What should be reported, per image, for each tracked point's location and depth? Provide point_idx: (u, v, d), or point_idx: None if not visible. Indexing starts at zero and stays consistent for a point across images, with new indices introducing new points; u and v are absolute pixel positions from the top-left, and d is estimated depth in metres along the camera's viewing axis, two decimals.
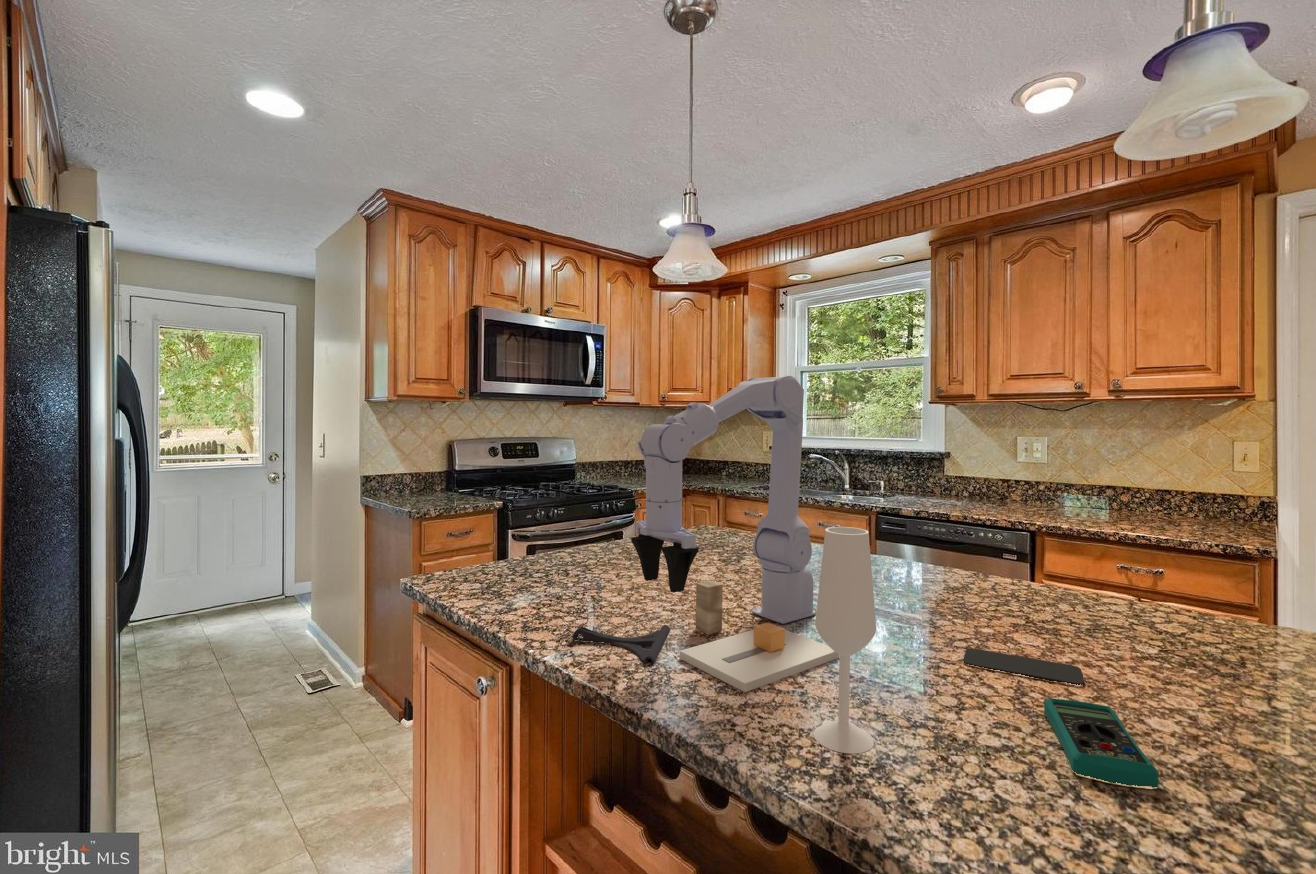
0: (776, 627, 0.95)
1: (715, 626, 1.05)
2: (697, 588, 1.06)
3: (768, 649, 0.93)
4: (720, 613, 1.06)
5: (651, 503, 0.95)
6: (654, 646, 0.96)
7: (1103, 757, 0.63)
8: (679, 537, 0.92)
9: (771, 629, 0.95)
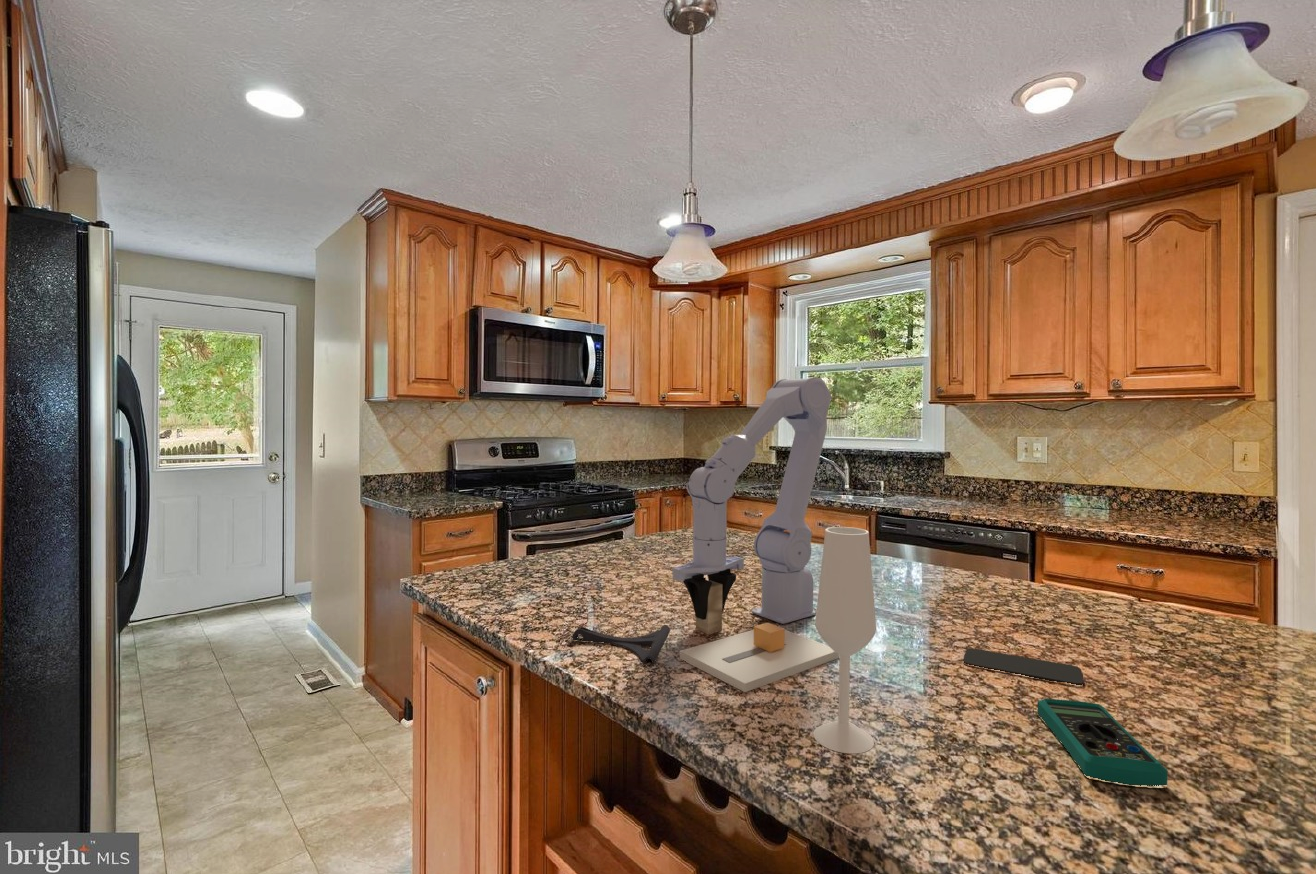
0: (776, 627, 0.95)
1: (715, 626, 1.05)
2: None
3: (768, 649, 0.93)
4: (720, 613, 1.06)
5: None
6: (654, 646, 0.96)
7: (1114, 758, 0.63)
8: None
9: (771, 629, 0.95)
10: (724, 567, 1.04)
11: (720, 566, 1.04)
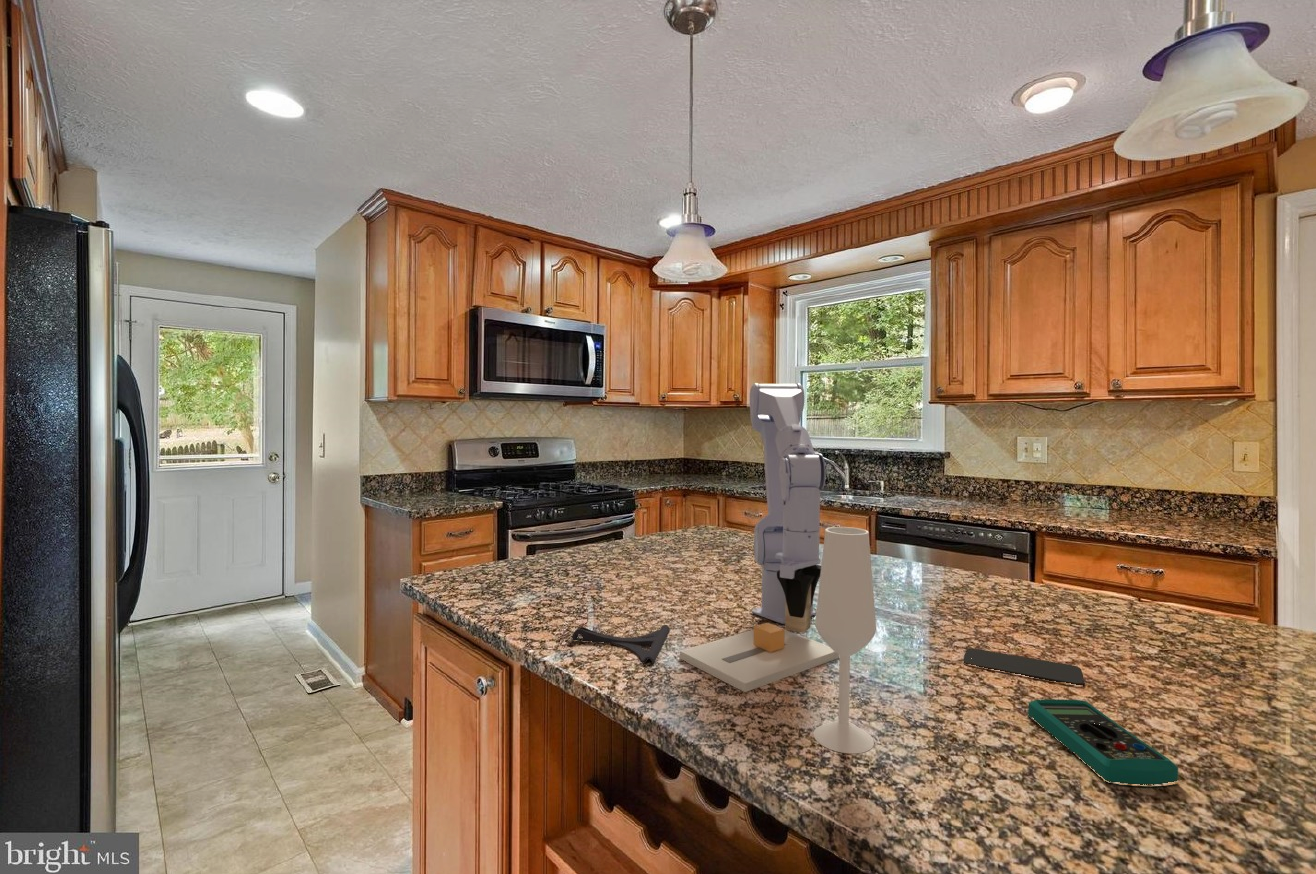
0: (776, 627, 0.95)
1: (808, 623, 0.99)
2: None
3: (768, 649, 0.93)
4: (810, 609, 1.00)
5: (783, 529, 1.00)
6: (653, 646, 0.96)
7: (1131, 760, 0.62)
8: None
9: (771, 629, 0.95)
10: None
11: (818, 558, 0.97)
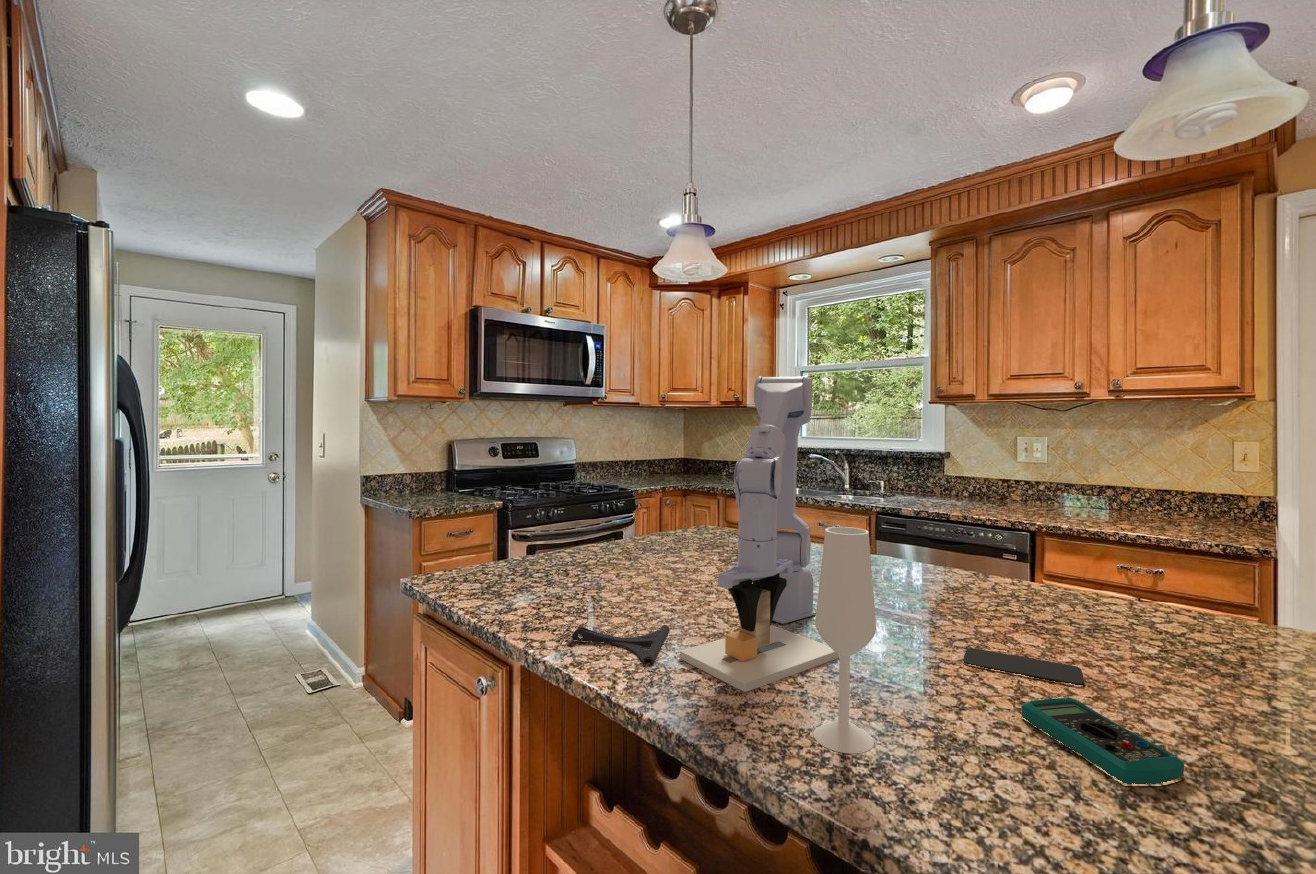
0: (748, 635, 0.92)
1: (763, 638, 0.93)
2: None
3: (739, 658, 0.90)
4: (768, 624, 0.93)
5: None
6: (653, 646, 0.96)
7: (1145, 760, 0.62)
8: None
9: (743, 637, 0.91)
10: (775, 571, 0.91)
11: (771, 570, 0.91)
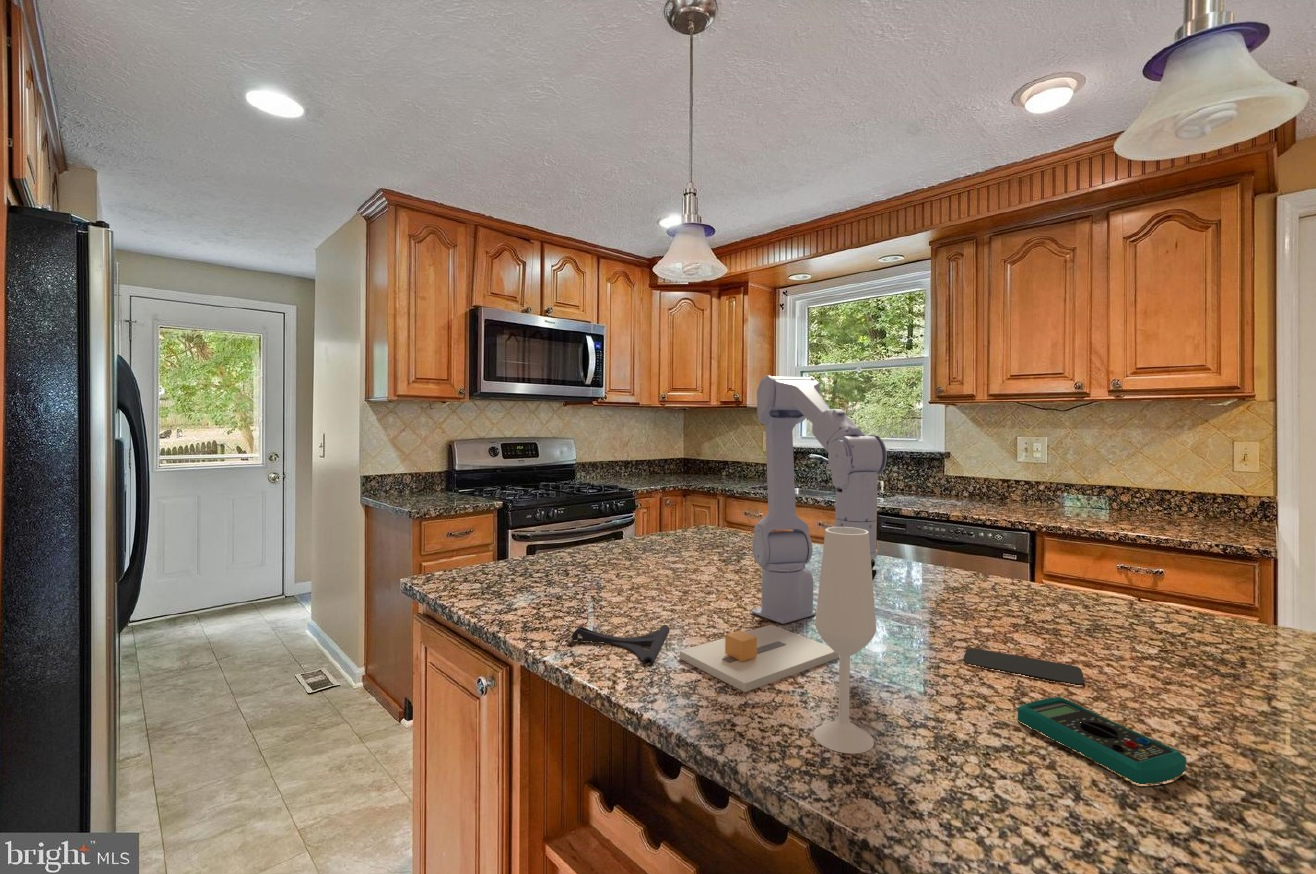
0: (748, 635, 0.92)
1: None
2: None
3: (739, 658, 0.90)
4: None
5: (836, 520, 0.89)
6: (653, 646, 0.96)
7: (1155, 759, 0.63)
8: None
9: (743, 637, 0.91)
10: None
11: (876, 550, 0.88)
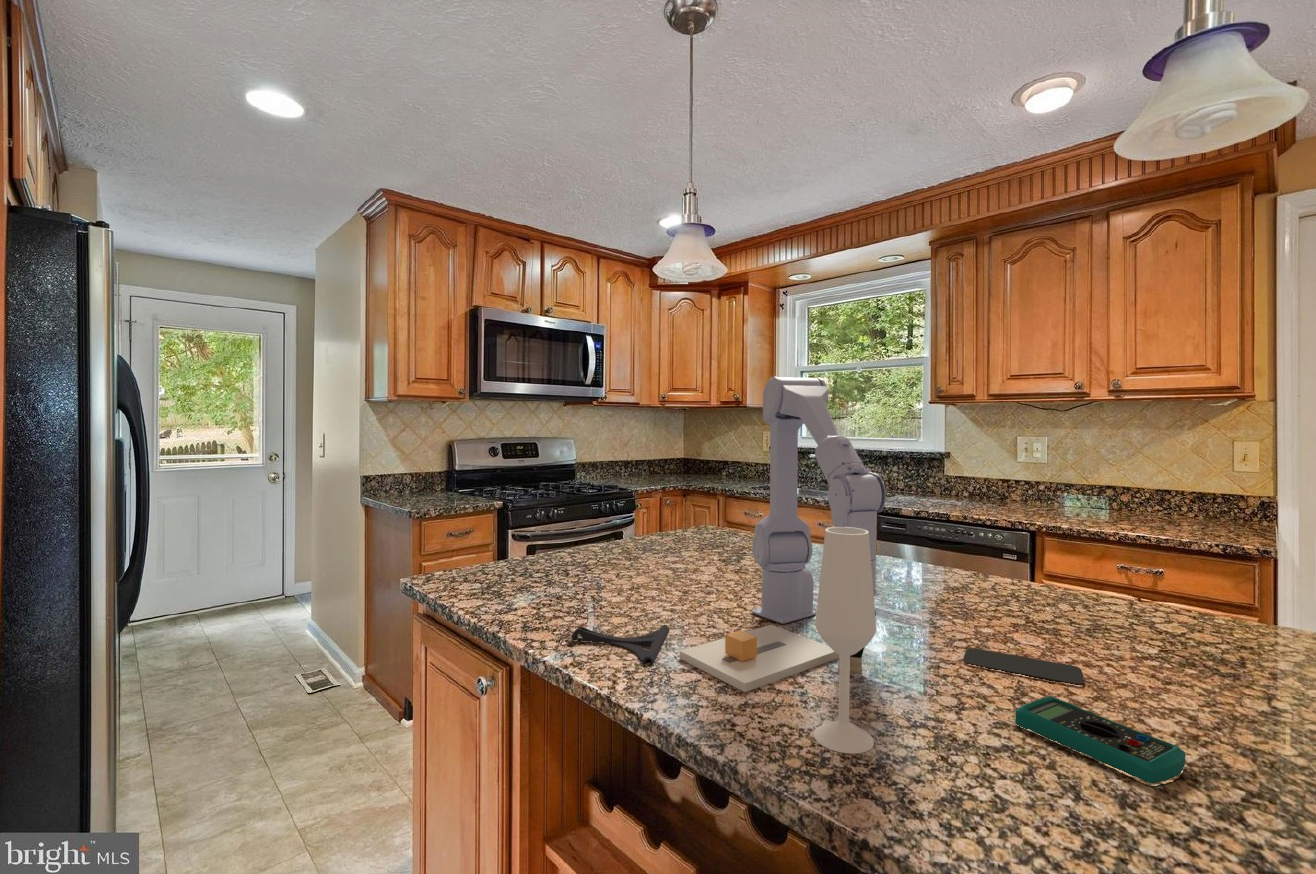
0: (748, 635, 0.92)
1: None
2: None
3: (739, 658, 0.90)
4: None
5: None
6: (653, 646, 0.96)
7: (1162, 757, 0.63)
8: None
9: (743, 637, 0.91)
10: None
11: (876, 589, 0.89)
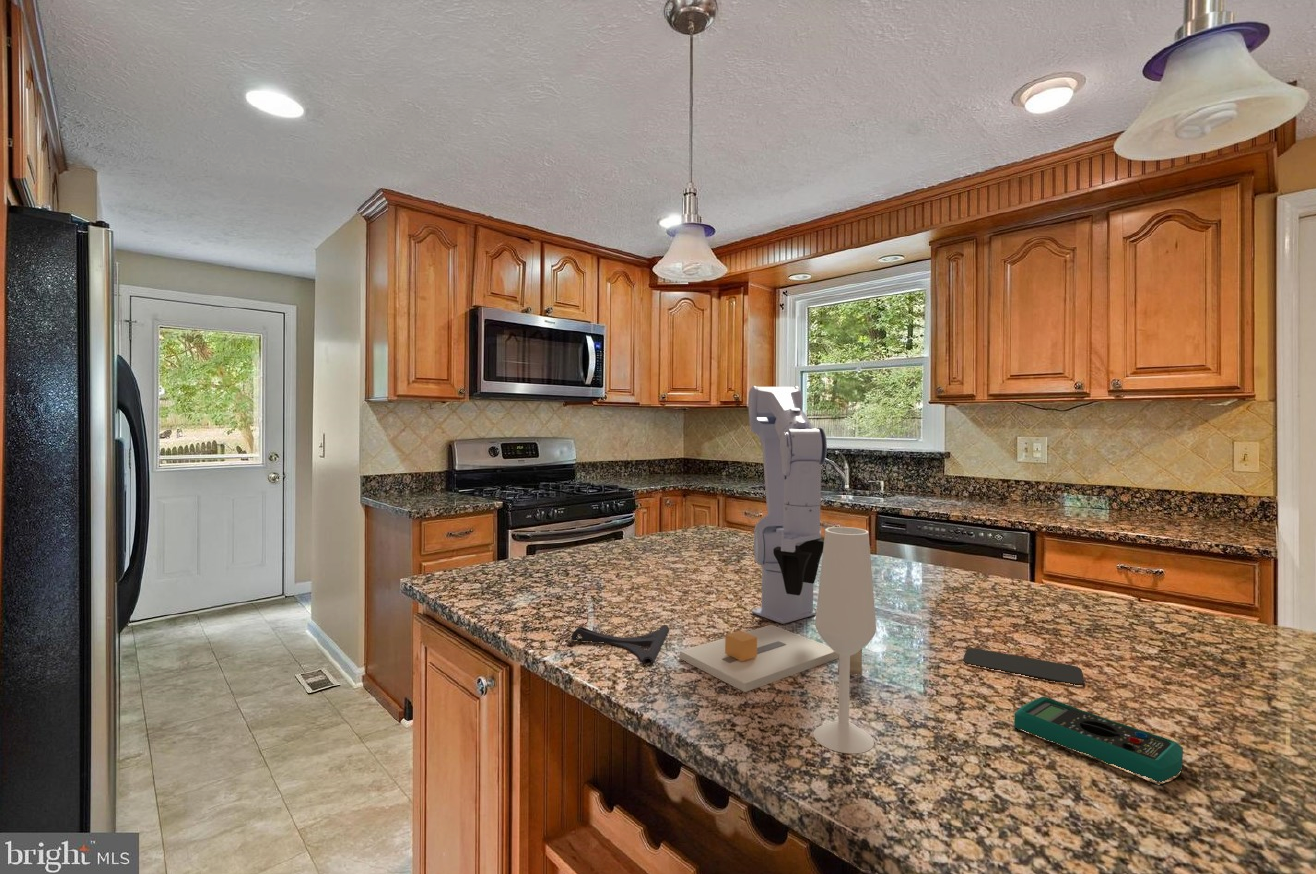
0: (748, 635, 0.92)
1: None
2: None
3: (739, 658, 0.90)
4: None
5: (784, 504, 0.99)
6: (653, 646, 0.96)
7: (1166, 754, 0.64)
8: None
9: (743, 637, 0.91)
10: None
11: (819, 533, 0.97)
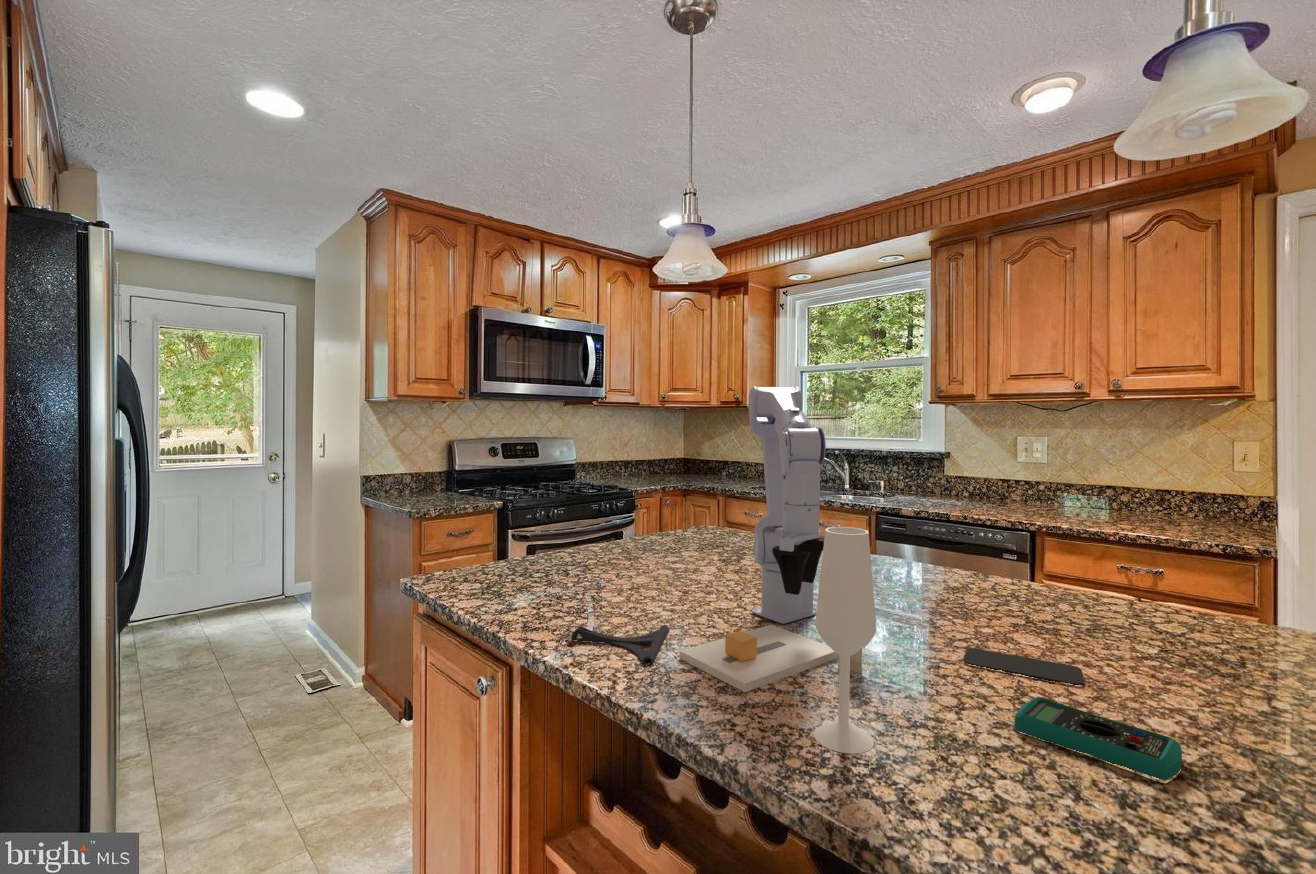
0: (748, 635, 0.92)
1: None
2: None
3: (739, 658, 0.90)
4: None
5: (783, 504, 0.99)
6: (653, 646, 0.96)
7: (1169, 752, 0.64)
8: None
9: (743, 637, 0.91)
10: None
11: (818, 532, 0.97)
